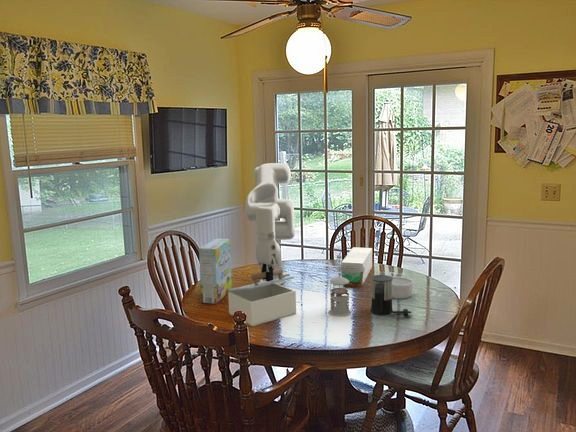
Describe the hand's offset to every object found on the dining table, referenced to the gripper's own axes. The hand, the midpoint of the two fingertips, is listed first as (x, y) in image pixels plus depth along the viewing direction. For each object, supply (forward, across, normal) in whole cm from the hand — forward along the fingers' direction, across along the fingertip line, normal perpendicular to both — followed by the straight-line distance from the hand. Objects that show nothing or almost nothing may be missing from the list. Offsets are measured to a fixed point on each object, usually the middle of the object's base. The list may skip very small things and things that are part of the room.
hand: (267, 279), depth 209 cm
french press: (+16, -14, -26) cm, 34 cm away
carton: (+16, +5, 0) cm, 17 cm away
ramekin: (+16, -17, -61) cm, 65 cm away
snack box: (+16, +38, +3) cm, 41 cm away
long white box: (+16, +20, -70) cm, 75 cm away
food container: (+16, +6, -53) cm, 56 cm away
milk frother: (+17, -30, -41) cm, 53 cm away
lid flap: (+3, +5, 0) cm, 6 cm away
